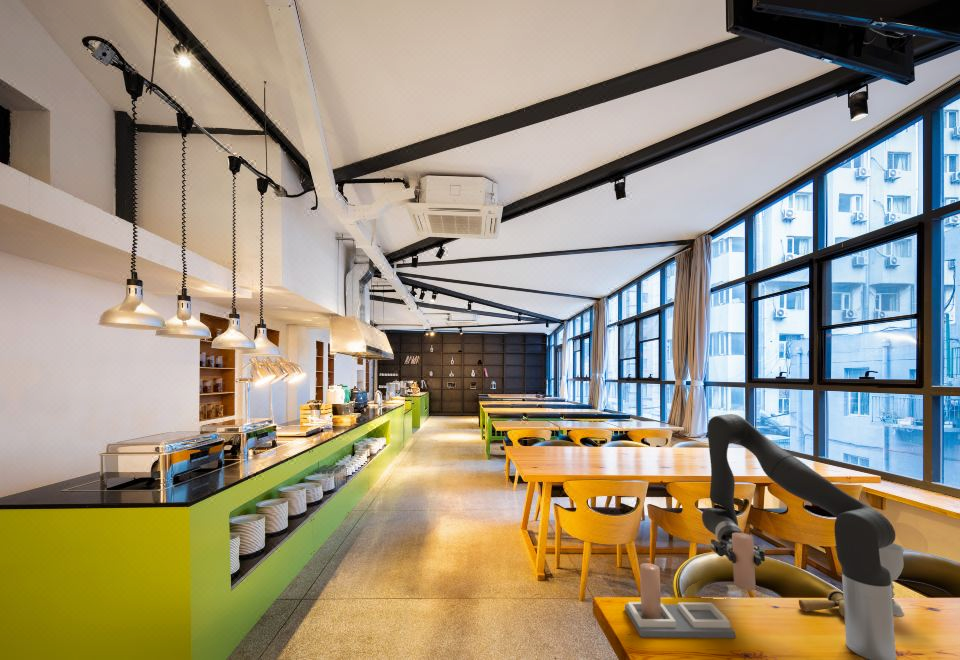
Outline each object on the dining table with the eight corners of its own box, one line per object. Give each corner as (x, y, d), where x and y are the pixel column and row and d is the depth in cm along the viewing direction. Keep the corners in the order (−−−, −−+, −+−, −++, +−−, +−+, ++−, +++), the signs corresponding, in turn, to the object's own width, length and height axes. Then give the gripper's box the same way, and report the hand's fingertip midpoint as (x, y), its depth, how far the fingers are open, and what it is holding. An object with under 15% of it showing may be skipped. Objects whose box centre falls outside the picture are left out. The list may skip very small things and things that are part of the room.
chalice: (883, 615, 126) (878, 548, 127) (870, 603, 132) (866, 539, 134) (915, 619, 124) (910, 551, 125) (900, 607, 130) (896, 542, 132)
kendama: (813, 625, 123) (884, 620, 122) (806, 599, 125) (876, 593, 123) (798, 615, 131) (864, 610, 129) (791, 591, 133) (857, 585, 131)
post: (741, 579, 125) (739, 531, 126) (759, 587, 120) (757, 537, 121) (729, 583, 122) (727, 534, 123) (748, 592, 118) (745, 540, 119)
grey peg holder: (709, 610, 128) (707, 557, 129) (735, 637, 115) (733, 578, 116) (625, 609, 128) (623, 556, 129) (641, 637, 115) (639, 578, 116)
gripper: (704, 522, 138) (715, 543, 122) (757, 527, 134) (776, 549, 118) (705, 547, 137) (716, 572, 121) (758, 553, 133) (778, 579, 117)
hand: (746, 560), depth 119 cm, fingers closed on post, 5 cm apart
